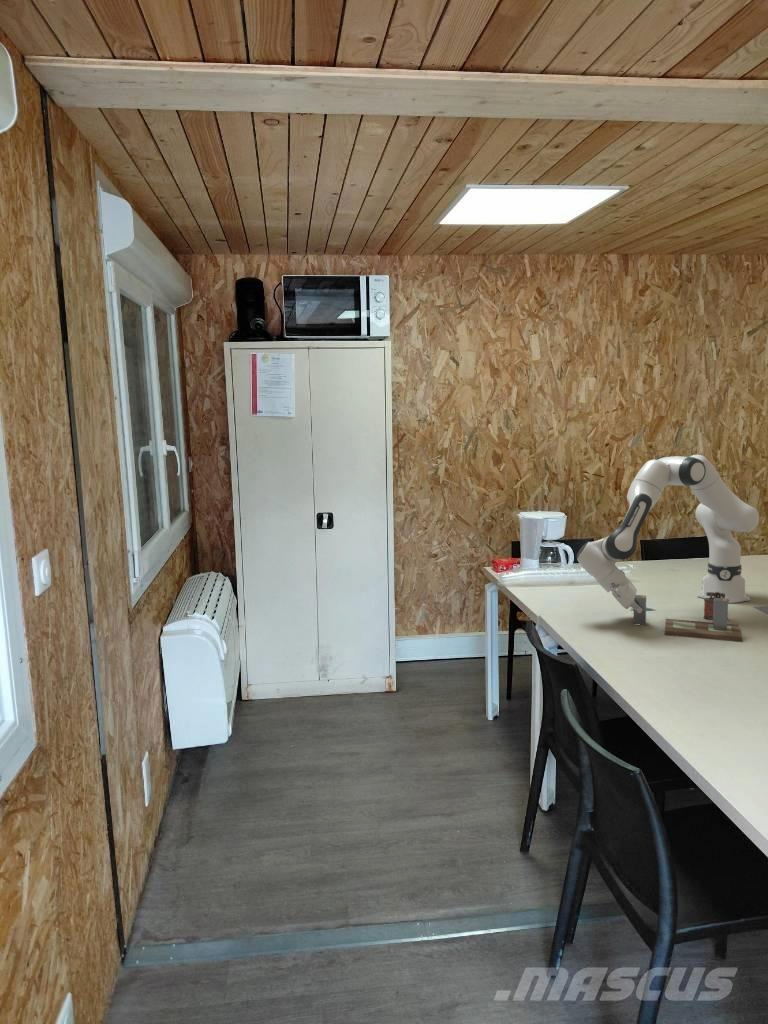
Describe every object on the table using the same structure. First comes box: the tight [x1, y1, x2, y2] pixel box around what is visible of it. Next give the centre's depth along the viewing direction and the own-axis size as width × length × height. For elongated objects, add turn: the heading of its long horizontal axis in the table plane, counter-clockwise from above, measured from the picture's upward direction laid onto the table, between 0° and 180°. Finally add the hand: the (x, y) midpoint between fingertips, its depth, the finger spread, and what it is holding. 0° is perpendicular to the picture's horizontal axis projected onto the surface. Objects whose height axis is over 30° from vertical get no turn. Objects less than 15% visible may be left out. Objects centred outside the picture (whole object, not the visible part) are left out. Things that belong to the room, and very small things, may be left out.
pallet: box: [664, 618, 743, 642], centre depth 225 cm, size 14×23×2 cm, turn 66°
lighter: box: [703, 592, 729, 621], centre depth 238 cm, size 8×3×10 cm, turn 74°
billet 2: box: [712, 598, 729, 631], centre depth 222 cm, size 4×4×10 cm
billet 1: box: [632, 594, 647, 626], centre depth 236 cm, size 4×4×10 cm
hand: (641, 609), depth 235 cm, fingers open, 4 cm apart
